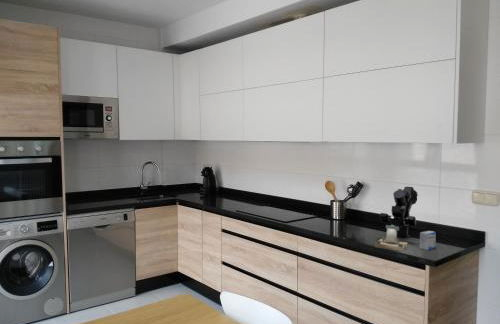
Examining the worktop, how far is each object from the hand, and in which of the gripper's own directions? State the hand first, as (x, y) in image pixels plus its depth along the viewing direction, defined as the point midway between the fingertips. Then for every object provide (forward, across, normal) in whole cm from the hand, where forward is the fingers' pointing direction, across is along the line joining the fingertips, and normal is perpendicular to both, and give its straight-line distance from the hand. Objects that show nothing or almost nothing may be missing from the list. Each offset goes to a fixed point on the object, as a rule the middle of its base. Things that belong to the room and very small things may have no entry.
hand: (394, 231), depth 210 cm
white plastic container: (+8, 0, -3) cm, 9 cm away
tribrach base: (+9, 0, 0) cm, 9 cm away
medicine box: (+4, +16, +6) cm, 18 cm away
